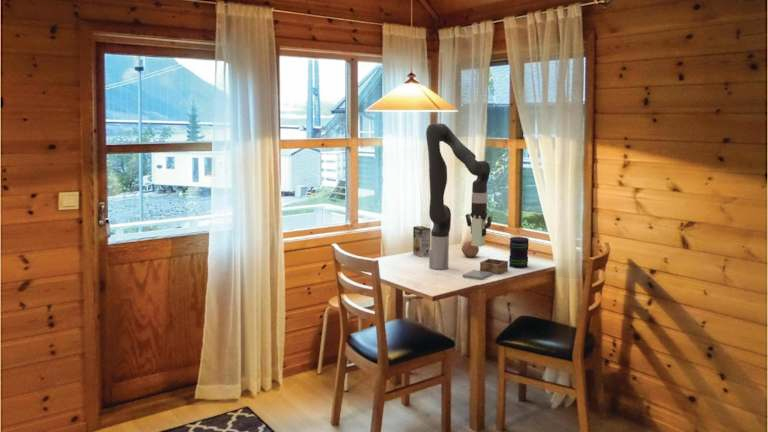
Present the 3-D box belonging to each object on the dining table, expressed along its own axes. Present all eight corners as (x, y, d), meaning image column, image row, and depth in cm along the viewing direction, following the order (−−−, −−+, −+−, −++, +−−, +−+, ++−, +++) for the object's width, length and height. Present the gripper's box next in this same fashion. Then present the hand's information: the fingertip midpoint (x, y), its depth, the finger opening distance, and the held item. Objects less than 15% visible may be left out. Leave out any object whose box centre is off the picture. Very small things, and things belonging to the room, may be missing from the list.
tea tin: (471, 245, 328) (471, 218, 326) (475, 243, 332) (476, 217, 330) (480, 246, 325) (481, 219, 323) (485, 244, 329) (485, 217, 327)
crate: (480, 271, 339) (480, 262, 339) (488, 267, 348) (489, 258, 347) (499, 274, 334) (499, 264, 333) (507, 270, 342) (507, 261, 341)
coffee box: (412, 254, 382) (412, 226, 380) (422, 253, 385) (422, 225, 383) (420, 257, 374) (421, 229, 372) (430, 256, 377) (430, 228, 375)
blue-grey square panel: (462, 277, 328) (462, 274, 328) (474, 272, 339) (474, 269, 338) (481, 279, 323) (481, 277, 323) (491, 274, 333) (492, 272, 333)
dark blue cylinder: (531, 266, 352) (532, 238, 350) (520, 269, 345) (521, 241, 343) (516, 263, 359) (517, 236, 357) (505, 265, 353) (506, 238, 351)
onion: (474, 260, 379) (481, 244, 379) (475, 259, 369) (482, 243, 370) (459, 254, 380) (465, 238, 381) (459, 253, 371) (466, 236, 371)
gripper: (462, 201, 326) (462, 235, 328) (489, 203, 318) (488, 238, 321) (469, 199, 332) (468, 233, 335) (495, 201, 324) (494, 235, 327)
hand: (478, 235), depth 328 cm, fingers closed on tea tin, 5 cm apart
